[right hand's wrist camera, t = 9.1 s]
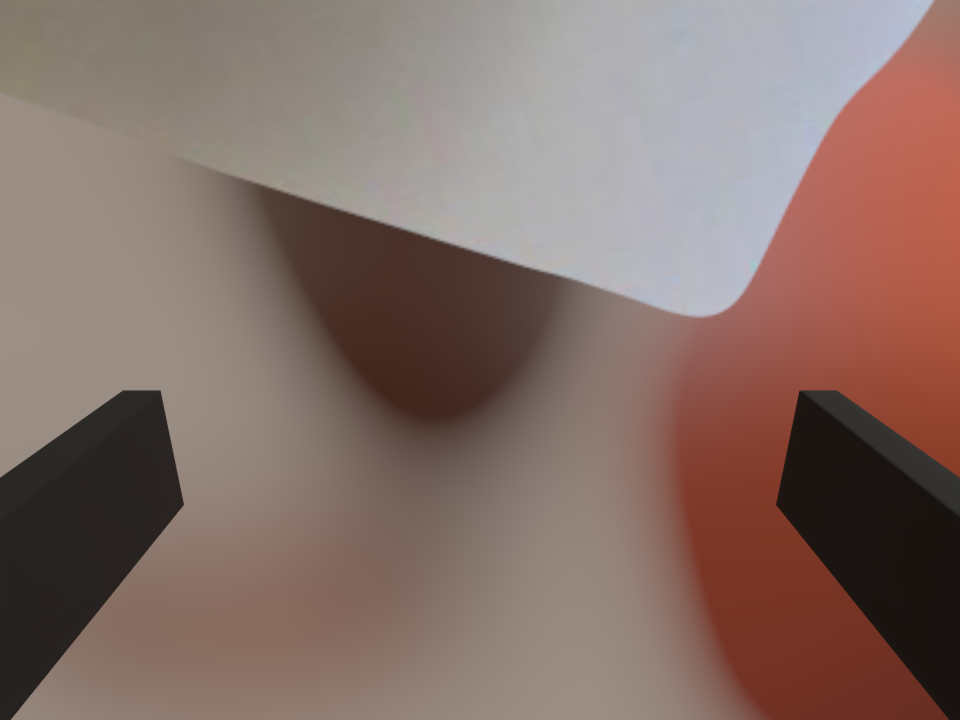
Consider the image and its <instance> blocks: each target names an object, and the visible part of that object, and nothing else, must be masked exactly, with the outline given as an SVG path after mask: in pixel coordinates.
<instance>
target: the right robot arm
mask: <svg viewBox="0 0 960 720" xmlns="http://www.w3.org/2000/svg"><path fill="white" fill-rule="evenodd" d="M183 505H184V503H183V498H182V493H181V488H180V483H179V479H178V474H177V469H176V464H175V459H174V454H173V449H172V444H171V440H170V435H169V430H168V425H167V420H166V415H165V411H164V406H163V401H162V396H161V391H122V392H120V393H119V394H118V395H116V396H115V397H113V398H112V399H110V400H109V401H108V402H106V403H105V404H103V405H102V406H101V407H99V408H98V409H96V410H95V411H94V412H92V413H91V414H89V415H88V416H87V417H85V418H84V419H82V420H81V421H79V422H78V423H77V424H75V425H74V426H72V427H71V428H70V429H68V430H67V431H65V432H64V433H63V434H61V435H60V436H58V437H57V438H56V439H54V440H53V441H51V442H50V443H48V444H47V445H46V446H44V447H43V448H41V449H40V450H39V451H37V452H36V453H34V454H33V455H32V456H30V457H29V458H27V459H26V460H25V461H23V462H22V463H20V464H19V465H18V466H16V467H15V468H13V469H12V470H11V471H9V472H8V473H6V474H5V475H3V476H2V477H1V478H0V720H11V719H12V717H13V716H14V715H15V714H16V713H17V711H18V710H19V709H20V708H21V706H22V705H23V704H24V703H25V701H26V700H27V699H28V698H29V696H30V695H31V694H32V693H33V691H34V690H35V689H36V688H37V686H38V685H39V684H40V683H41V681H42V680H43V679H44V678H45V677H46V675H47V674H48V673H49V671H50V670H51V669H52V668H53V667H54V665H55V664H56V663H57V662H58V660H59V659H60V658H61V657H62V655H63V654H64V653H65V652H66V650H67V649H68V648H69V647H70V645H71V644H72V643H73V642H74V640H75V639H76V638H77V637H78V635H79V634H80V633H81V632H82V630H83V629H84V628H85V627H86V626H87V624H88V623H89V622H90V621H91V619H92V618H93V617H94V616H95V614H96V613H97V612H98V611H99V610H100V608H101V607H102V606H103V605H104V603H105V602H106V601H107V600H108V598H109V597H110V596H111V595H112V593H113V592H114V591H115V590H116V588H117V587H118V586H119V585H120V583H121V582H122V581H123V580H124V578H125V577H126V576H127V575H128V574H129V572H130V571H131V570H132V569H133V567H134V566H135V565H136V564H137V562H138V561H139V560H140V559H141V557H142V556H143V555H144V554H145V552H146V551H147V550H148V549H149V547H150V546H151V545H152V544H153V542H154V541H155V540H156V539H157V537H158V536H159V535H160V534H161V532H162V531H163V530H164V529H165V528H166V526H167V525H168V524H169V523H170V521H171V520H172V519H173V518H174V516H175V515H176V514H177V513H178V511H179V510H180V509H181V508H182V506H183ZM776 505H777V506H778V508H779V509H780V510H781V511H782V513H783V514H784V515H785V516H786V518H787V519H788V520H789V521H790V523H791V524H792V525H793V526H794V528H795V529H796V530H797V531H798V533H799V534H800V535H801V536H802V538H803V539H804V540H805V541H806V542H807V544H808V545H809V546H810V547H811V549H812V550H813V551H814V552H815V554H816V555H817V556H818V557H819V559H820V560H821V561H822V562H823V564H824V565H825V566H826V567H827V569H828V570H829V571H830V572H831V573H832V575H833V576H834V577H835V578H836V580H837V581H838V582H839V583H840V585H841V586H842V587H843V588H844V590H845V591H846V592H847V593H848V595H849V596H850V597H851V598H852V600H853V601H854V602H855V603H856V605H857V606H858V607H859V608H860V610H861V611H862V612H863V613H864V614H865V616H866V617H867V618H868V619H869V621H870V622H871V623H872V624H873V626H874V627H875V628H876V629H877V631H878V632H879V633H880V634H881V636H882V637H883V638H884V639H885V641H886V642H887V643H888V644H889V646H890V647H891V648H892V649H893V650H894V652H895V653H896V654H897V655H898V657H899V658H900V659H901V660H902V662H903V663H904V664H905V665H906V667H907V668H908V669H909V670H910V672H911V673H912V674H913V675H914V677H915V678H916V679H917V680H918V681H919V683H920V684H921V685H922V686H923V688H924V689H925V690H926V691H927V693H928V694H929V695H930V696H931V698H932V699H933V700H934V701H935V703H936V704H937V705H938V706H939V708H940V709H941V710H942V711H943V713H944V714H945V715H946V716H947V717H948V719H949V720H960V478H959V477H958V476H957V475H955V474H954V473H952V472H951V471H950V470H948V469H947V468H945V467H944V466H943V465H941V464H940V463H938V462H937V461H935V460H934V459H933V458H931V457H930V456H928V455H927V454H926V453H924V452H923V451H921V450H920V449H919V448H917V447H916V446H914V445H913V444H912V443H910V442H909V441H907V440H906V439H904V438H903V437H902V436H900V435H899V434H897V433H896V432H895V431H893V430H892V429H890V428H889V427H888V426H886V425H885V424H883V423H882V422H881V421H879V420H878V419H876V418H875V417H873V416H872V415H871V414H869V413H868V412H866V411H865V410H864V409H862V408H861V407H859V406H858V405H857V404H855V403H854V402H852V401H851V400H850V399H848V398H847V397H845V396H844V395H842V394H841V393H840V392H838V391H799V396H798V401H797V406H796V410H795V415H794V420H793V425H792V430H791V435H790V440H789V444H788V449H787V454H786V459H785V464H784V469H783V474H782V479H781V483H780V488H779V493H778V498H777V503H776Z"/></svg>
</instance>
